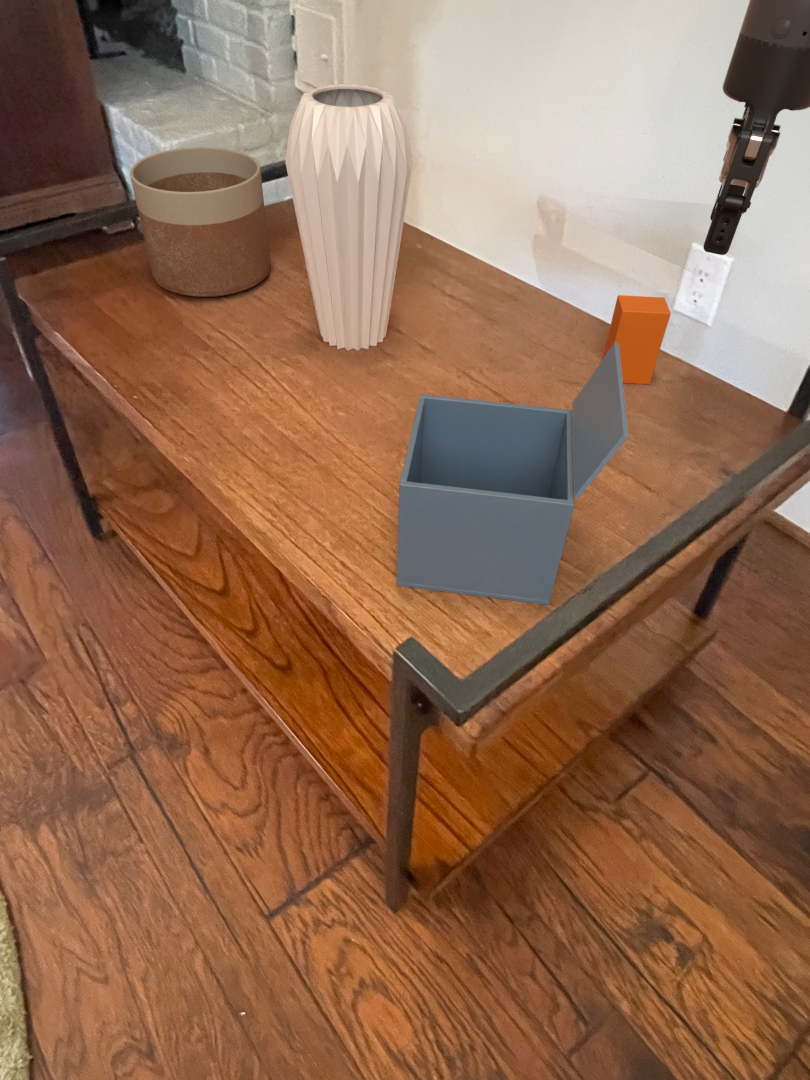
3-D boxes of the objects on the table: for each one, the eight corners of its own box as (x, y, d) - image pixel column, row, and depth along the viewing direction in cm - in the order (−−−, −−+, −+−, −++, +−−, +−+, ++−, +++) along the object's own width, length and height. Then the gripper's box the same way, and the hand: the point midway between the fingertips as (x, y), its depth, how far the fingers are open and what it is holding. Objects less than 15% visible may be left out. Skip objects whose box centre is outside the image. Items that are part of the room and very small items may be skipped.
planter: (212, 238, 111) (196, 137, 101) (294, 268, 105) (286, 164, 95) (128, 278, 102) (101, 171, 92) (213, 314, 96) (195, 203, 86)
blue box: (550, 509, 72) (572, 409, 63) (548, 605, 63) (574, 504, 55) (415, 493, 73) (420, 393, 64) (396, 585, 64) (399, 484, 56)
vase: (282, 321, 95) (259, 85, 76) (376, 299, 100) (376, 71, 81) (326, 374, 87) (312, 124, 68) (426, 347, 91) (439, 106, 73)
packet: (644, 367, 90) (664, 297, 83) (649, 384, 87) (671, 313, 81) (600, 365, 90) (617, 294, 83) (604, 382, 87) (622, 310, 81)
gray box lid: (572, 402, 63) (576, 404, 63) (574, 496, 55) (579, 498, 55) (614, 341, 58) (619, 343, 59) (623, 434, 50) (629, 436, 50)
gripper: (843, 55, 54) (755, 273, 65) (835, 27, 64) (760, 220, 75) (736, 40, 56) (669, 254, 67) (745, 15, 66) (685, 205, 77)
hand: (717, 236), depth 71 cm, fingers open, 8 cm apart
